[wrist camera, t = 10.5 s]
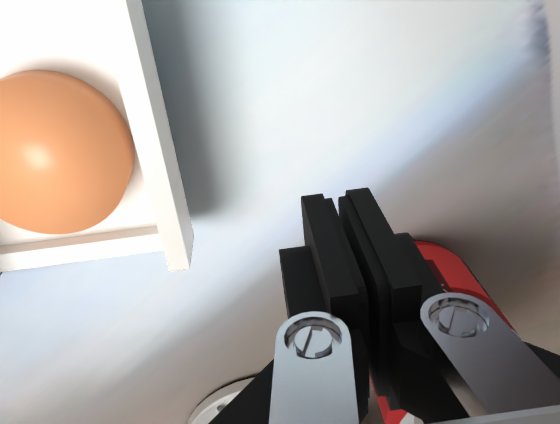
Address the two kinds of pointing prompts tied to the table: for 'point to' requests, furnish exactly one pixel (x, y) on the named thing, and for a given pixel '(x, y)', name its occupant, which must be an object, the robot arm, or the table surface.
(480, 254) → the table surface
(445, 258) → the canned food
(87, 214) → the disc
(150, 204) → the tray
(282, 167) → the table surface
